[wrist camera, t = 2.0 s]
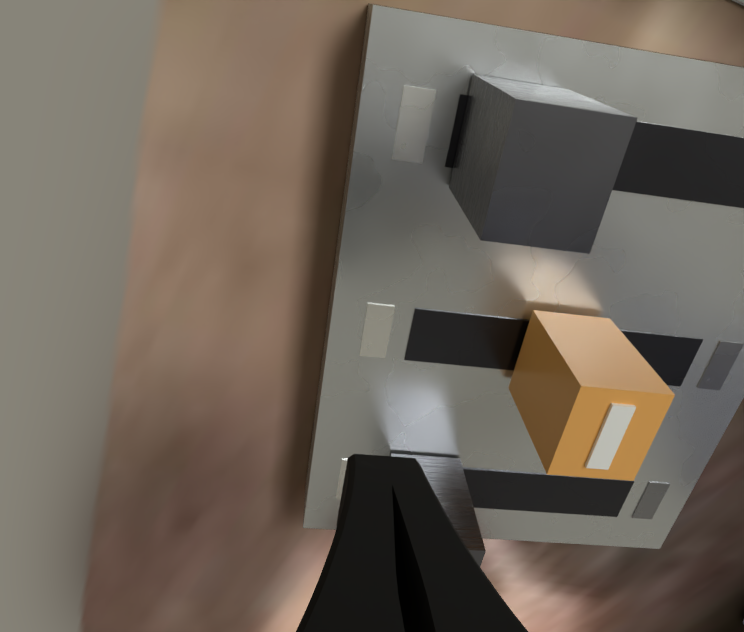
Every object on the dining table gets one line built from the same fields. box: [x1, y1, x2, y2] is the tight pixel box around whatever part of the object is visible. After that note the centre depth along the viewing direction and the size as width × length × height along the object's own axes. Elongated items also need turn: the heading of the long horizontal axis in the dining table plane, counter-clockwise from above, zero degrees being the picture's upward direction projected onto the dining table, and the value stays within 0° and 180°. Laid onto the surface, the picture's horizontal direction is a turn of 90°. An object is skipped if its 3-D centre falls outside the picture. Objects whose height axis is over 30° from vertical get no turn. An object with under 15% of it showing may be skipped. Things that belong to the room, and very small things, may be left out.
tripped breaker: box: [508, 310, 675, 481], centre depth 16 cm, size 3×2×4 cm
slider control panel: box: [303, 3, 744, 567], centre depth 17 cm, size 17×14×6 cm
